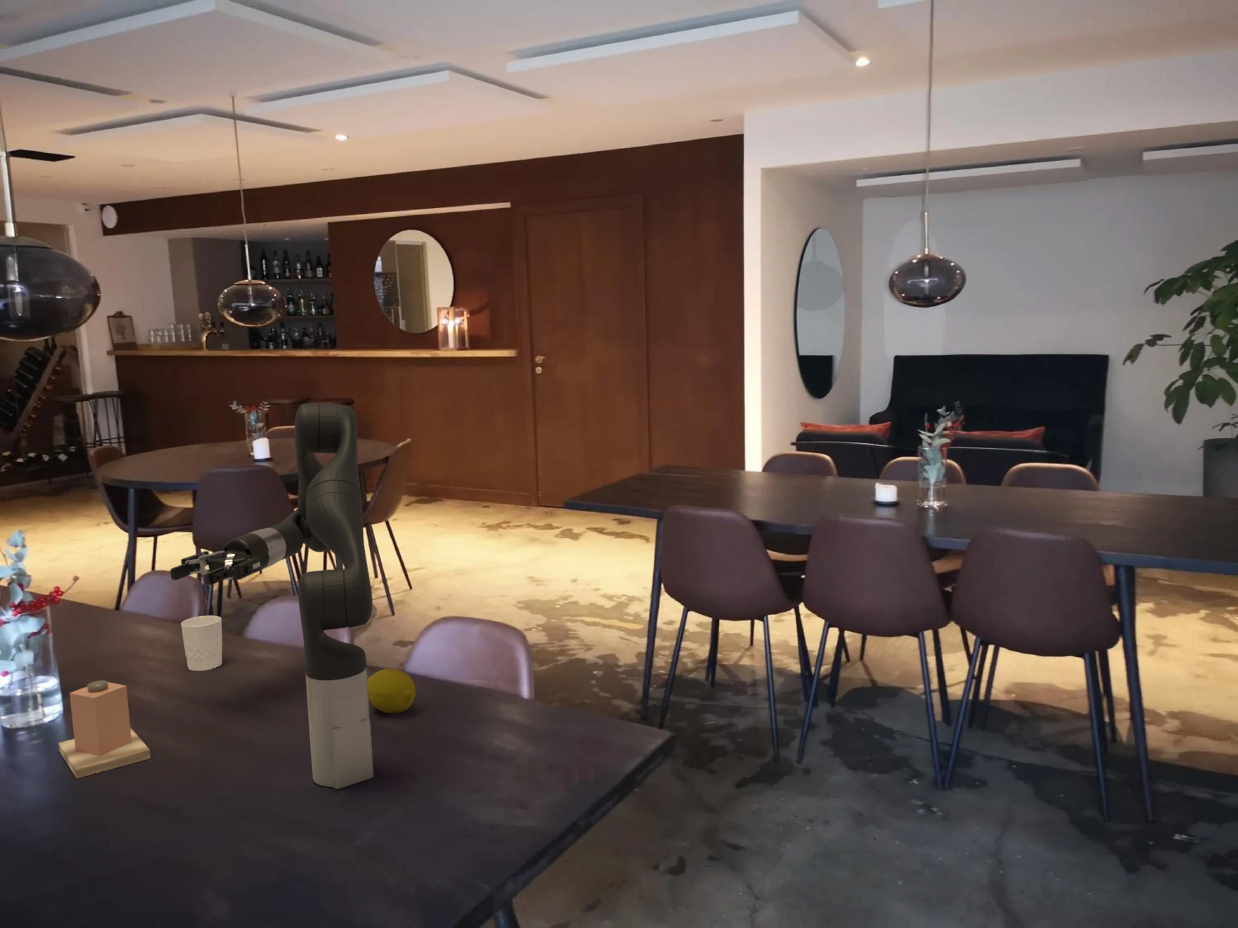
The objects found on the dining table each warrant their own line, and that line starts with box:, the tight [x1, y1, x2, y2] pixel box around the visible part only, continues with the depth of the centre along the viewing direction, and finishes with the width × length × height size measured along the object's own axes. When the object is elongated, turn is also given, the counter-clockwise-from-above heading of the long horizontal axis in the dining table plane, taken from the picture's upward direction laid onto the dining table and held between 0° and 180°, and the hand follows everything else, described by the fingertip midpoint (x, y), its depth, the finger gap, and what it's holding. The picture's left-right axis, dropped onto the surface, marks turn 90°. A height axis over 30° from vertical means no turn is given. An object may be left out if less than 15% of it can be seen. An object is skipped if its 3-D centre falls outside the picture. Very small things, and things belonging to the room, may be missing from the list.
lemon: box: [367, 668, 416, 714], centre depth 180 cm, size 11×8×8 cm
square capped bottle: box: [69, 679, 132, 756], centre depth 163 cm, size 6×6×11 cm
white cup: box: [180, 615, 223, 672], centre depth 207 cm, size 8×8×10 cm
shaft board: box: [58, 727, 151, 779], centre depth 164 cm, size 14×11×8 cm
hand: (189, 577), depth 174 cm, fingers open, 8 cm apart
